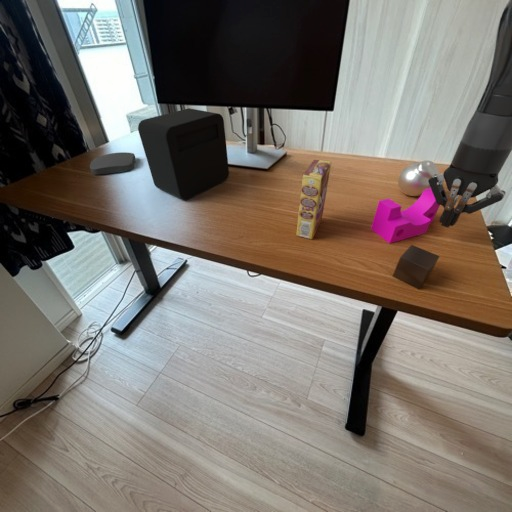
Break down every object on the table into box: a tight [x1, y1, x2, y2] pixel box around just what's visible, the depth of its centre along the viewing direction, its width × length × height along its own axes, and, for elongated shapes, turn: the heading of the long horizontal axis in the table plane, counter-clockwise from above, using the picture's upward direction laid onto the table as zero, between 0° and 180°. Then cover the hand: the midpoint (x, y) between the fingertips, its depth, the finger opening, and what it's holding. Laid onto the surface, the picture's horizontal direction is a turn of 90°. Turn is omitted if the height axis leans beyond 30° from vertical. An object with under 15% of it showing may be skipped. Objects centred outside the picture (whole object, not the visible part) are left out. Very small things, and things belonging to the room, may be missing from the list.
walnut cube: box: [392, 244, 440, 290], centre depth 50 cm, size 5×5×5 cm
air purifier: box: [137, 108, 230, 201], centre depth 80 cm, size 20×15×20 cm
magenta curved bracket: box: [370, 188, 441, 244], centre depth 62 cm, size 15×6×8 cm, turn 111°
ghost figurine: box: [397, 159, 440, 197], centre depth 73 cm, size 9×10×10 cm
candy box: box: [295, 159, 332, 240], centre depth 60 cm, size 9×4×15 cm, turn 156°
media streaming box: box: [89, 151, 137, 175], centre depth 100 cm, size 15×15×3 cm
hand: (446, 225), depth 57 cm, fingers closed
